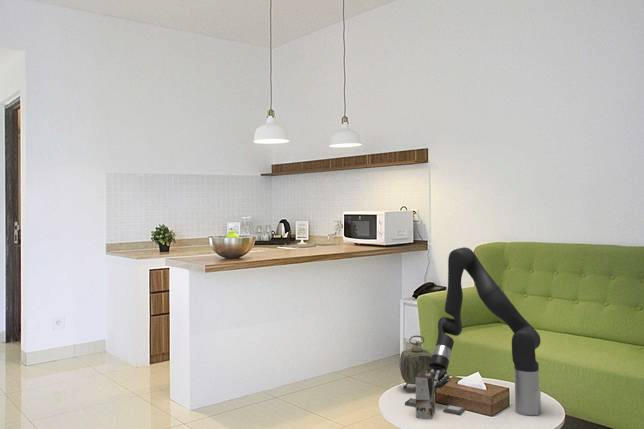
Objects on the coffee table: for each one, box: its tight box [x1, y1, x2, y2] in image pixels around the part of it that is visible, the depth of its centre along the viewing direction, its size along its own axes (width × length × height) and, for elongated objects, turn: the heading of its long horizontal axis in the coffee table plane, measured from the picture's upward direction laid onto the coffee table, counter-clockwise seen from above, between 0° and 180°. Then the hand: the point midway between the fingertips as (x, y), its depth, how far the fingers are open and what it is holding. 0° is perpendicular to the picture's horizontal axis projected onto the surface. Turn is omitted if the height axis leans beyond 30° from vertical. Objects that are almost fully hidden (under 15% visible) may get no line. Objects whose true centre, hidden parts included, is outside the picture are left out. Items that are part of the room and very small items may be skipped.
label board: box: [404, 397, 466, 416], centre depth 230 cm, size 24×6×1 cm, turn 57°
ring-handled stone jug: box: [399, 335, 433, 390], centre depth 253 cm, size 14×9×25 cm, turn 94°
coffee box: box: [415, 372, 436, 420], centre depth 222 cm, size 9×6×16 cm
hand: (430, 395), depth 227 cm, fingers closed
